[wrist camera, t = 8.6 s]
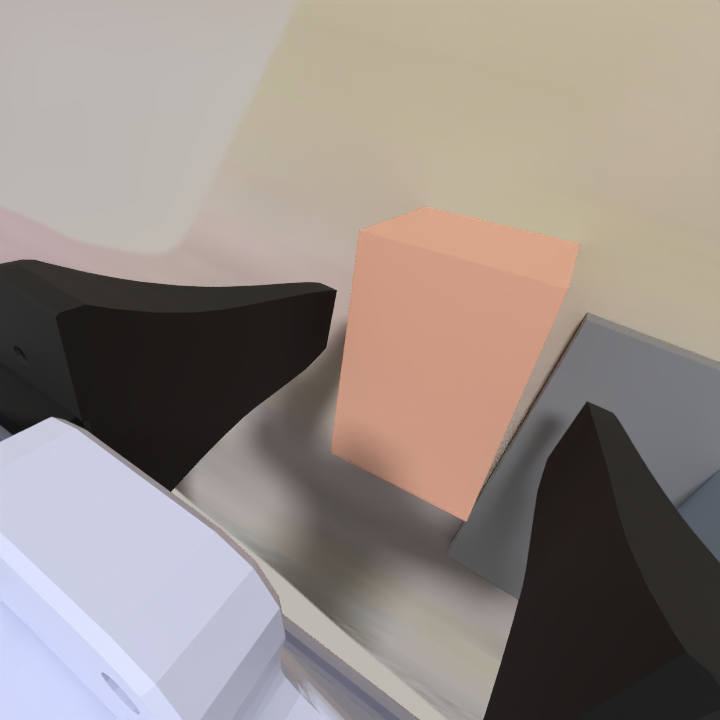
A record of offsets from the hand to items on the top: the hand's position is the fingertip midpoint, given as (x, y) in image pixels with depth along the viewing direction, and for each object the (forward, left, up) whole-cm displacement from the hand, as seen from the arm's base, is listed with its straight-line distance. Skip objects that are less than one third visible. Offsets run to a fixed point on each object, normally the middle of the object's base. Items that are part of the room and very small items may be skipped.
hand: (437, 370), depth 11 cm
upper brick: (0, 0, -3) cm, 3 cm away
